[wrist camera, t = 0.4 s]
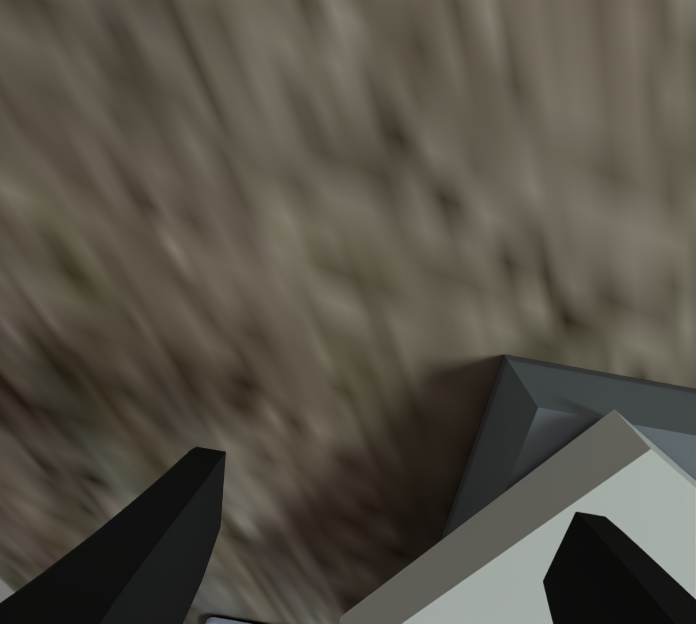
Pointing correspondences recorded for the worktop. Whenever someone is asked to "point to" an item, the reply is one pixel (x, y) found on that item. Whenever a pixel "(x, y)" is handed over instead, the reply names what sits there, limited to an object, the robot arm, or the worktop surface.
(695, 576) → the cover
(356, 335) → the worktop surface
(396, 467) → the worktop surface
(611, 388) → the gray storage bin
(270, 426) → the worktop surface
